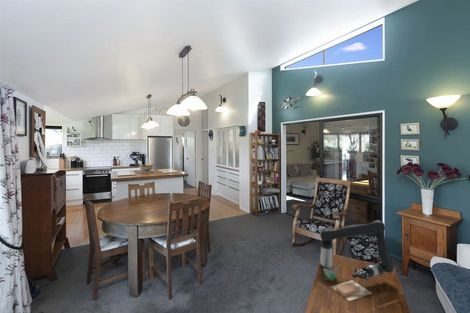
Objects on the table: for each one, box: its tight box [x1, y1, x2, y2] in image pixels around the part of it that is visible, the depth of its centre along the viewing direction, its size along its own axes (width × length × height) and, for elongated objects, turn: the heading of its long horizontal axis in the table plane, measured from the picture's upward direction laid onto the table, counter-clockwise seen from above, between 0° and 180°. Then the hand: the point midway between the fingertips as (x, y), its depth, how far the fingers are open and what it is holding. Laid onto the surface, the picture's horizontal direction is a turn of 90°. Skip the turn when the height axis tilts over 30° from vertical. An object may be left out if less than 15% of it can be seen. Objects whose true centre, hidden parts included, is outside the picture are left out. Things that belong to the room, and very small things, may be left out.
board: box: [330, 279, 373, 302], centre depth 180 cm, size 18×22×1 cm
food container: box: [322, 265, 339, 282], centre depth 193 cm, size 12×6×10 cm, turn 101°
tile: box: [335, 282, 360, 297], centre depth 179 cm, size 9×3×14 cm
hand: (353, 276), depth 180 cm, fingers closed
